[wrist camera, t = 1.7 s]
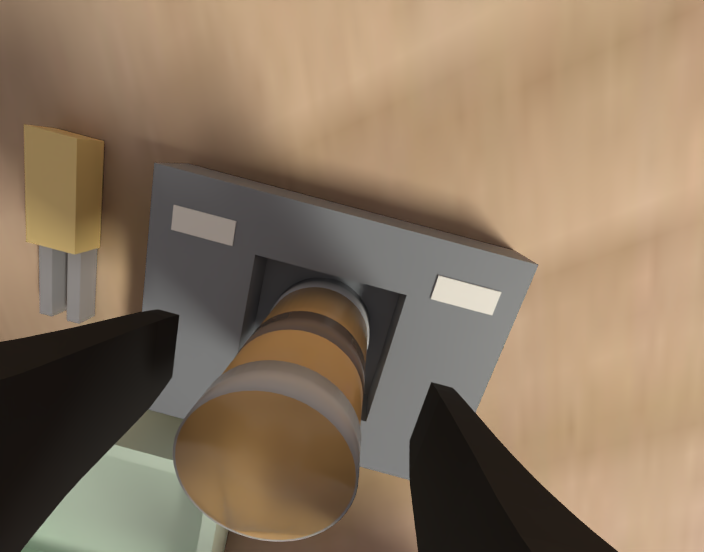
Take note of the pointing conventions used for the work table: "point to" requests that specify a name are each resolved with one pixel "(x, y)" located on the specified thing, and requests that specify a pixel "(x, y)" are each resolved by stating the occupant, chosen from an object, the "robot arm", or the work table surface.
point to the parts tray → (131, 501)
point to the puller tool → (64, 216)
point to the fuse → (283, 420)
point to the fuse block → (335, 263)
